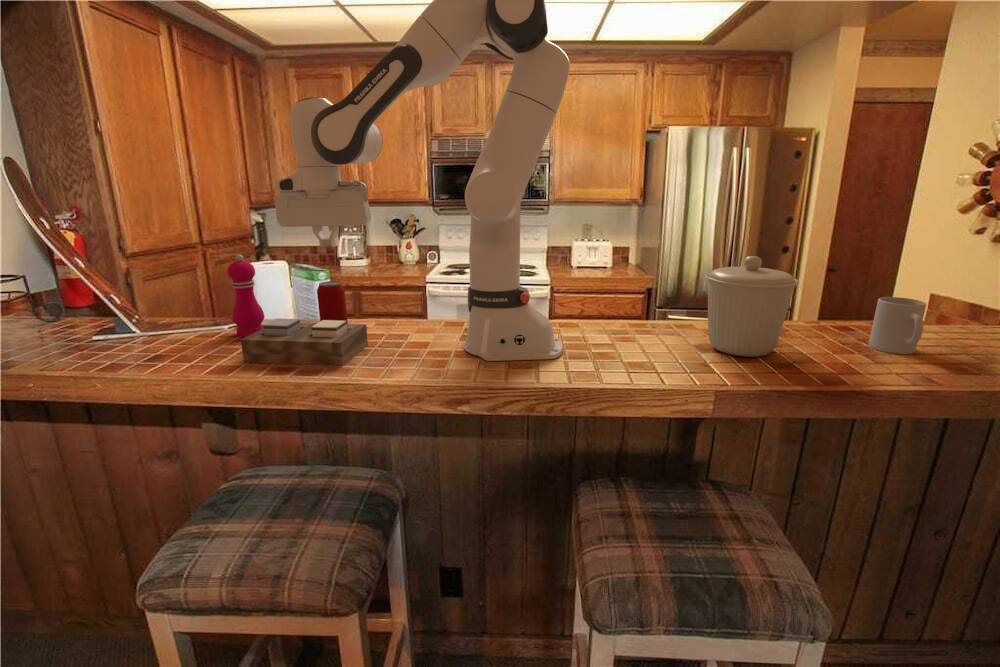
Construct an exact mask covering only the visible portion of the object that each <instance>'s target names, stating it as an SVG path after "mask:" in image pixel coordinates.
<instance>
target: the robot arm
mask: <svg viewBox="0 0 1000 667" xmlns="http://www.w3.org/2000/svg"><path fill="white" fill-rule="evenodd" d="M548 28H549V27H548V18H547V6H546V0H432V1H431V3H430V4H428V6H427V7H426V8H425V9H424V10H423V12H421V13H420V15H418V17H417V18H416V19H415V21H414V22H413V23H412V24H411V26H410V27H409V28H408V29H407V30H406V32H405V33H404V34H403V35H402V37H401V38H400V39H399V40H398V41H397V43H396V44H395V45H394V46H393V47H392V48H391V50H390V51H389V52H388V53H386V55H385V56H384V57H383V58H382V59H381V60H380V61H379V62H378V63H377V64H376V65H375V66H374V67H373V68H372V69H371V70H370V72H368V73H367V75H365V76H364V77H363V79H362V80H361V81H360V82H359V83H358V84H357V85H356V86H355V87H354V88H353V89H352V90H351V91H350V92H349V93H348V95H346V96H345V97H344V98H343V99H341V100H340V101H338V102H336V103H334V104H333V103H332V102H330V101H329V100H328V99H327V98H324V97H319V96H317V97H306V98H302V99H299V100H297V101H296V102H294V104H292V106H291V108H290V117H289V118H290V119H289V120H290V122H289V123H290V133H291V134H290V135H291V136H290V137H291V143H292V147H293V151H294V152H295V158H296V159H295V173H294V174H290V175H289V176H287V177H284V178H281V179H279V180H276V181H275V182H274V187H275V190H276V192H279V193H277V194H276V196H275V203H274V204H275V216H276V221H277V224H278V225H279V226H280V227H282V228H294V227H296V228H297V227H298V228H299V227H300V228H301V227H312V228H311V229H312V233H313V234H314V235H315V237H316V238H317V239H318V240H319V241H318V243H319V247H320V248H335V247H336V246H337V244H336V237H337V235H338V234H339V231H340V228H339V227H341V226H342V227H343V226H345V227H346V226H367V225H369V224H370V223H371V221H372V215H371V214H372V212H371V209H370V204H369V189H368V187H367V185H366V184H365V183H363V182H361V181H360V180H352V181H351V180H342V176H341V175H342V174H341V168H340V166H341V165H347V164H348V165H366V164H368V163H371V162H373V161H375V160H376V159H377V158H378V156H379V155H380V153H381V152H382V148H383V143H384V142H383V135H382V133H381V130H380V128H379V126H377V124H375V122H377V121H378V120H379V119H380V117H381V116H382V115H383V114H384V113H385V112H386V111H387V110H388V109H389V108H390V107H391V106H392V105H393V104H394V103H395V102H396V101H397V100H398V99H399V98H400V97H401V96H402V95H404V94H405V93H407V92H409V91H412V90H415V89H418V88H425V87H434V86H438V85H439V84H440V83H442V82H443V81H445V79H447V78H448V77H449V76H450V75H451V74H452V73H454V71H455V70H456V69H457V68H458V67H459V66H460V65H461V64H462V62H464V61H465V59H466V58H467V57H468V56H469V54H471V53H472V51H473V50H474V49H476V47H478V46H480V45H482V44H484V45H485V46H486V47H487V48H488V49H490V50H492V51H494V52H495V53H497V54H498V55H499V56H502V57H503V58H505V59H508V60H511V61H513V67H512V72H511V75H510V79H509V81H508V84H507V86H506V90H505V92H504V94H503V98H502V99H501V101H500V105H499V107H498V110H497V111H496V112H497V113H496V115H495V117H494V121H493V123H492V126H491V128H490V131H489V134H488V135H487V138H486V140H485V142H484V145H483V147H482V148H481V152H480V154H479V156H478V158H477V159H476V162H475V165H474V167H473V170H472V172H471V175H470V177H469V179H468V181H467V184H466V187H465V191H464V201H465V202H464V203H465V207H466V209H467V211H468V213H469V214H470V233H469V234H470V235H469V248H468V257H469V258H468V263H469V266H468V267H469V287H468V288H467V308H468V312H469V318H468V327H467V334H466V339H465V343H464V346H463V348H464V350H465V352H467V353H469V354H471V355H474V356H478V357H480V358H482V359H483V360H485V361H488V362H493V361H494V362H496V361H497V362H498V361H500V362H501V361H529V360H554V359H557V358H559V357H560V356H561V355H562V354H563V352H564V345H563V342H562V341H561V339H560V338H558V337H556V336H555V334H554V330H553V326H552V323H551V321H550V319H549V318H548V317H547V316H545V314H543V313H542V312H540V311H539V310H538V309H537V308H535V307H534V306H532V305H531V304H530V303H529V302H530V298H531V295H530V291H529V289H528V288H524V287H523V286H521V285H520V284H521V267H520V266H521V202H522V199H523V196H524V194H525V191H526V189H527V186H528V184H529V181H530V179H531V177H532V174H533V172H534V170H535V167H536V164H537V161H538V159H539V157H540V154H541V152H542V150H543V147H544V145H545V142H546V140H547V138H548V135H549V132H550V130H551V128H552V126H553V123H554V120H555V118H556V115H557V113H558V111H559V108H560V106H561V103H562V100H563V96H564V93H565V90H566V85H567V82H568V78H569V72H570V68H571V67H570V59H569V58H568V56H567V54H566V53H565V51H564V50H563V49H562V48H561V47H560V46H558V45H557V44H555V43H553V42H551V41H549V40H548V39H547V35H548V32H549V29H548ZM323 227H328V232H330V234H329V238H326V237H325V235H324V234H323V233H322V232H323V231H324V228H323Z"/></svg>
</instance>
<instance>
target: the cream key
mask: <svg viewBox="0 0 1000 667" xmlns="http://www.w3.org/2000/svg"><path fill="white" fill-rule="evenodd" d="M347 322H348V321H347ZM347 322H346V321H339V320H322V321H321V322H320V321H319V322H316V323H317V324H315V325H314V326H312V328H311V329H312V334H313V337H337V338H339V337H340V336H342V335H343V334H345V333H346V332H347Z"/></svg>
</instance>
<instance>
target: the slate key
mask: <svg viewBox="0 0 1000 667" xmlns="http://www.w3.org/2000/svg"><path fill="white" fill-rule="evenodd" d="M300 320H301V319H299V318H298V319H297V318H274V319H272V320H271V321H269V322H267V323H265V324H262V325H263V329H264V334H265V335H272V336H291V335H292V334H294V333H296V332H298V331H299V330H301V329H300V323H301V321H300Z"/></svg>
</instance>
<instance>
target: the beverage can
mask: <svg viewBox="0 0 1000 667" xmlns="http://www.w3.org/2000/svg"><path fill="white" fill-rule="evenodd" d="M318 283H319V284H318V287H317V288H316V289H317V290H316V294H317V304H318V305H317V306H318V313H319V322H321V321H322V320H339V321H346V322H347V324H349V323H348V312H347V302H346V293H345V287H344V286H343V284H342V282H341V281H337V280H335V281H334V280H331V281H329V280H328V281H323V282H321V281H320V282H318Z"/></svg>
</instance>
